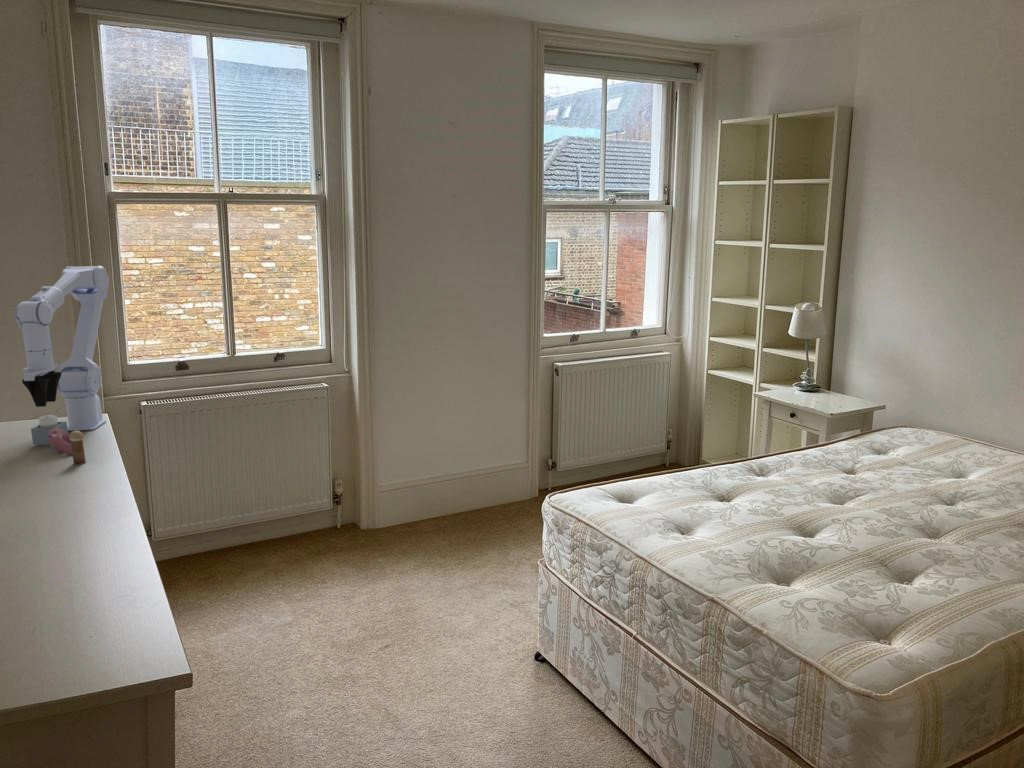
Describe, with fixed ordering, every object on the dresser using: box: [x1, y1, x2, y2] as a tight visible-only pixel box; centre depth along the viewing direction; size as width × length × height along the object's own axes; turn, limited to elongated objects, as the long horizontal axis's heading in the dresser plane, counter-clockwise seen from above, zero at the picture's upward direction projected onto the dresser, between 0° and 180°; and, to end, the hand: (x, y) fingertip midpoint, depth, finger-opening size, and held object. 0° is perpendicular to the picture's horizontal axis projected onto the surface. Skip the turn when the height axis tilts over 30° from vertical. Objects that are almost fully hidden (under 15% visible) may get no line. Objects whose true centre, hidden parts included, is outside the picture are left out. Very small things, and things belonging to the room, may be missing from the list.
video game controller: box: [47, 428, 73, 456], centre depth 198 cm, size 10×5×7 cm, turn 25°
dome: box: [38, 414, 59, 427], centre depth 206 cm, size 4×4×4 cm
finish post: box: [69, 430, 87, 465], centre depth 188 cm, size 3×3×8 cm
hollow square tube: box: [30, 421, 69, 446], centre depth 207 cm, size 6×6×4 cm
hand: (46, 403), depth 205 cm, fingers open, 5 cm apart
